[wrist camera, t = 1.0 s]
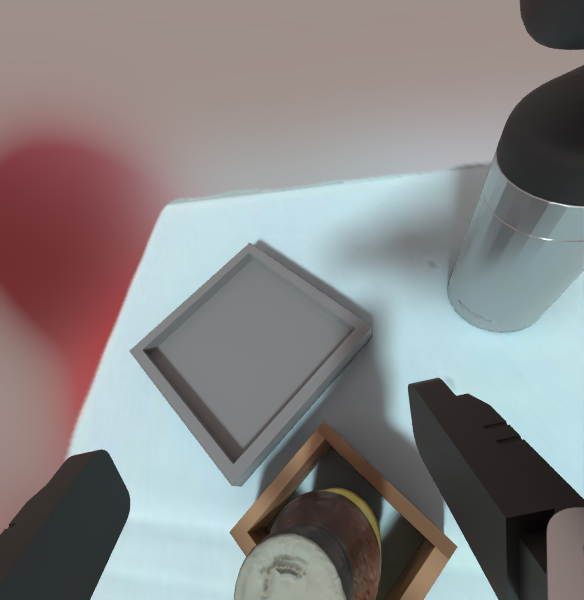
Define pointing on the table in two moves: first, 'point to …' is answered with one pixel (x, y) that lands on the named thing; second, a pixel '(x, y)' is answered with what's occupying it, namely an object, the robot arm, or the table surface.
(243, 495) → the table surface
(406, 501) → the condiment box
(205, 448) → the serving tray
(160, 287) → the table surface
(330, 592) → the sauce bottle
